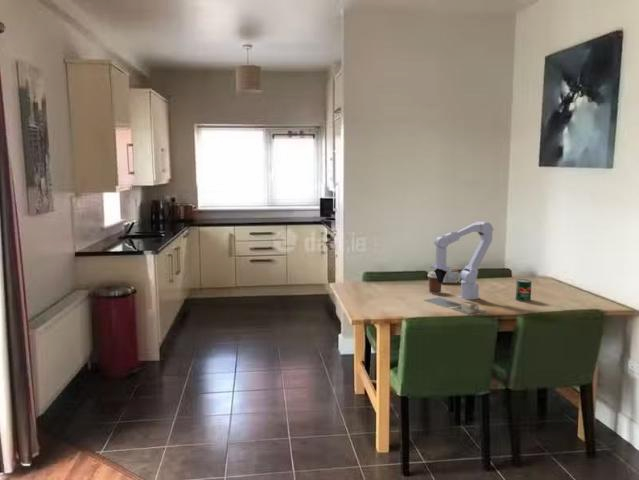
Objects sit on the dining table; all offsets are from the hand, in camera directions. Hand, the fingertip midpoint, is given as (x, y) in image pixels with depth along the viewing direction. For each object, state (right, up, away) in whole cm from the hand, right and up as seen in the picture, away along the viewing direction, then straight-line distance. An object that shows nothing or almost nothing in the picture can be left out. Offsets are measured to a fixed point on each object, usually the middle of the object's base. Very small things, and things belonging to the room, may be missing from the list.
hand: (440, 282), depth 297 cm
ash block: (+9, -12, -25) cm, 29 cm away
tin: (+16, -4, +43) cm, 46 cm away
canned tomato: (+46, -10, 0) cm, 47 cm away
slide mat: (+4, -11, -14) cm, 18 cm away
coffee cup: (+1, -7, +18) cm, 19 cm away
